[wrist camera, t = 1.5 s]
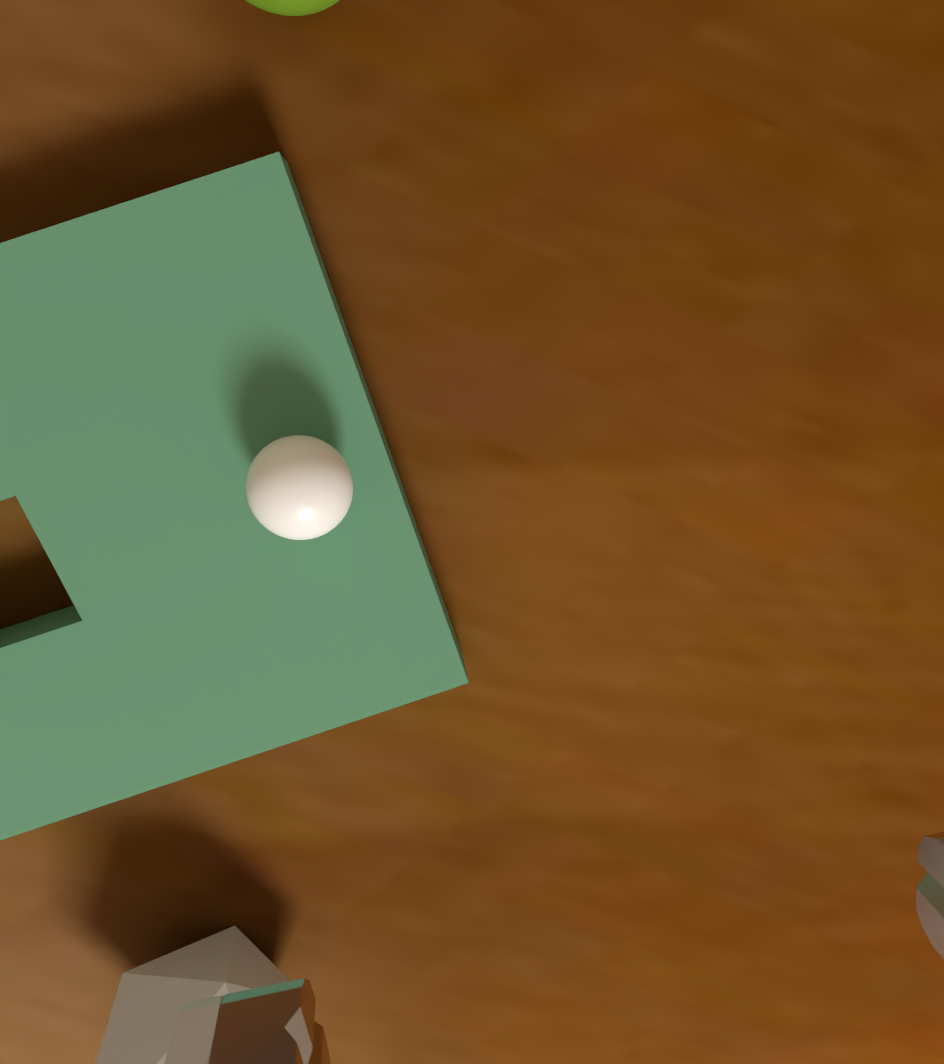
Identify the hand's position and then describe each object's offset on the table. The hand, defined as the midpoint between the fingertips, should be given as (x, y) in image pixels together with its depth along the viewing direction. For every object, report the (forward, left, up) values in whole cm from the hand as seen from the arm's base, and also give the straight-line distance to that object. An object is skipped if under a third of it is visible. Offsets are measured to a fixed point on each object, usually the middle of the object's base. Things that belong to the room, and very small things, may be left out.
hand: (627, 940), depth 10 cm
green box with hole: (+12, -3, -22) cm, 26 cm away
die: (+18, +19, -23) cm, 35 cm away
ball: (+5, -3, -18) cm, 19 cm away
